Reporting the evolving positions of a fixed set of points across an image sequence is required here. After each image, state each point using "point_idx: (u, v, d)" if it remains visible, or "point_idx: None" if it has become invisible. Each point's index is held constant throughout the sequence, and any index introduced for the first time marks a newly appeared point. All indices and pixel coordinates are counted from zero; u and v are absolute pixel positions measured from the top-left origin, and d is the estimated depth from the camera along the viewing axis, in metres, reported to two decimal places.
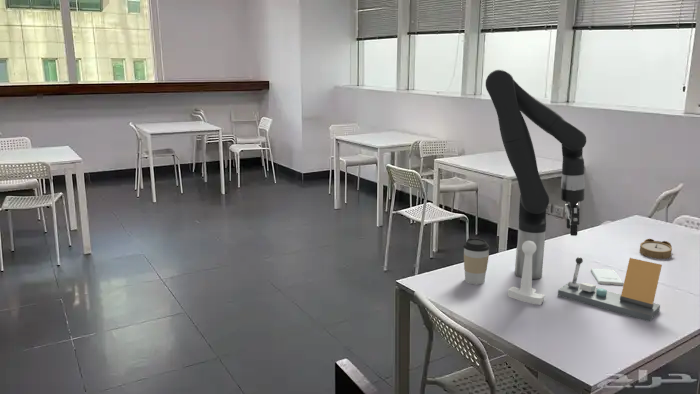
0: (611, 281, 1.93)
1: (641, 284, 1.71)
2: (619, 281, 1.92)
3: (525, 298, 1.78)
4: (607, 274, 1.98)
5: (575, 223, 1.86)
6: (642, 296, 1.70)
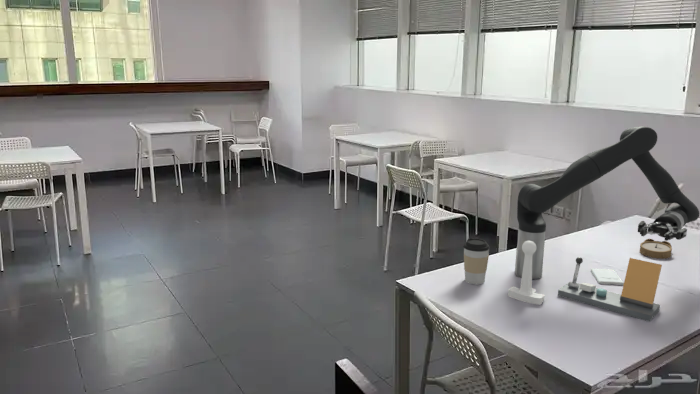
0: (611, 281, 1.93)
1: (641, 284, 1.71)
2: (619, 281, 1.92)
3: (525, 298, 1.78)
4: (607, 274, 1.98)
5: (680, 235, 1.74)
6: (642, 296, 1.70)
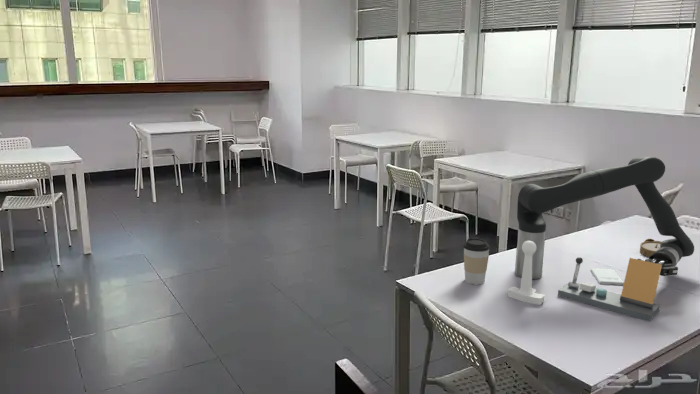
0: (612, 281, 1.93)
1: (641, 284, 1.71)
2: (620, 281, 1.93)
3: (525, 298, 1.78)
4: (607, 274, 1.98)
5: (664, 272, 1.78)
6: (642, 296, 1.70)
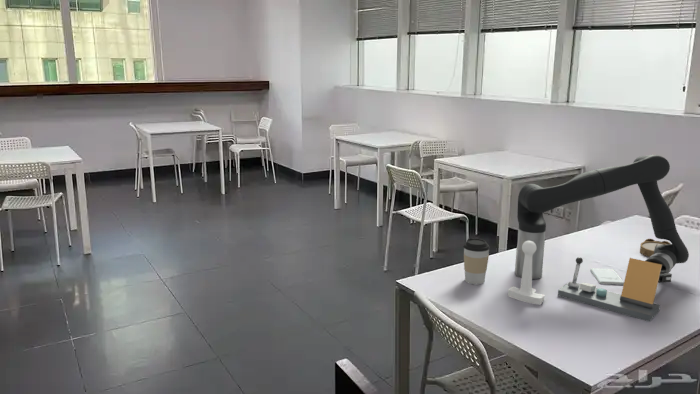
0: (612, 281, 1.93)
1: (641, 284, 1.71)
2: (620, 281, 1.93)
3: (525, 298, 1.78)
4: (607, 274, 1.98)
5: None
6: (642, 296, 1.70)
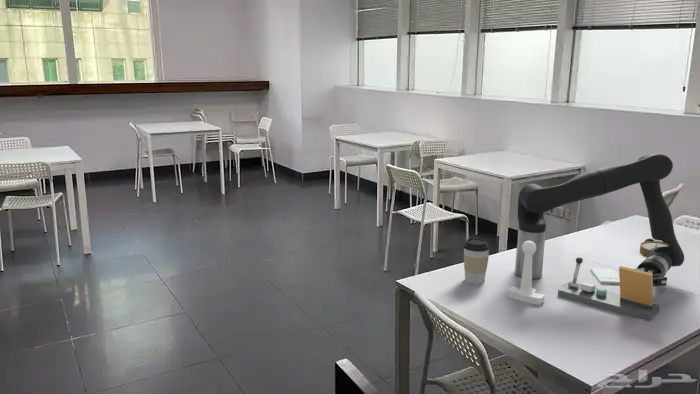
0: (613, 281, 1.93)
1: (637, 290, 1.68)
2: None
3: (525, 298, 1.78)
4: (607, 274, 1.99)
5: None
6: (640, 299, 1.69)
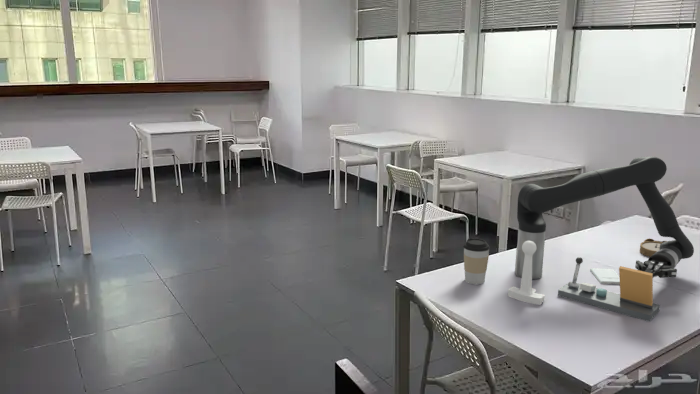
0: (613, 281, 1.93)
1: (637, 290, 1.68)
2: None
3: (525, 298, 1.78)
4: (607, 274, 1.99)
5: (662, 274, 1.77)
6: (640, 299, 1.69)
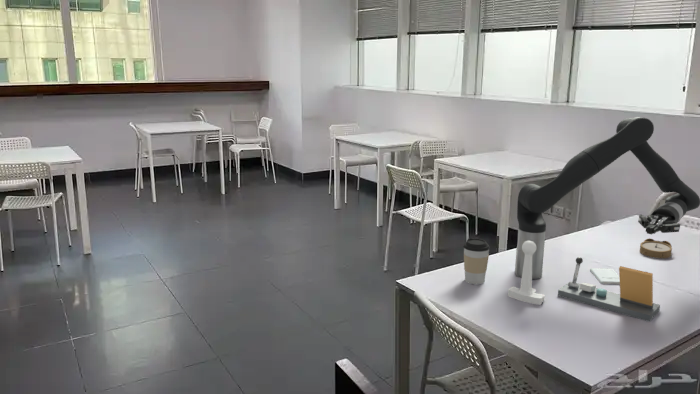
0: (613, 281, 1.93)
1: (637, 290, 1.68)
2: None
3: (525, 298, 1.78)
4: (607, 274, 1.99)
5: (665, 229, 1.75)
6: (640, 299, 1.69)
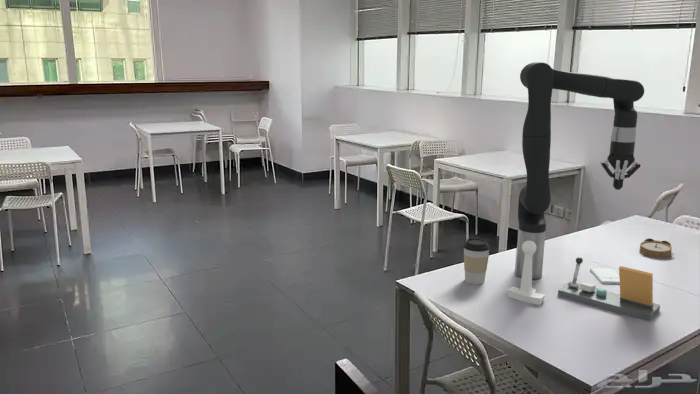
0: (614, 281, 1.93)
1: (637, 290, 1.68)
2: None
3: (525, 298, 1.78)
4: (608, 274, 1.99)
5: None
6: (640, 299, 1.69)
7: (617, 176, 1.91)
